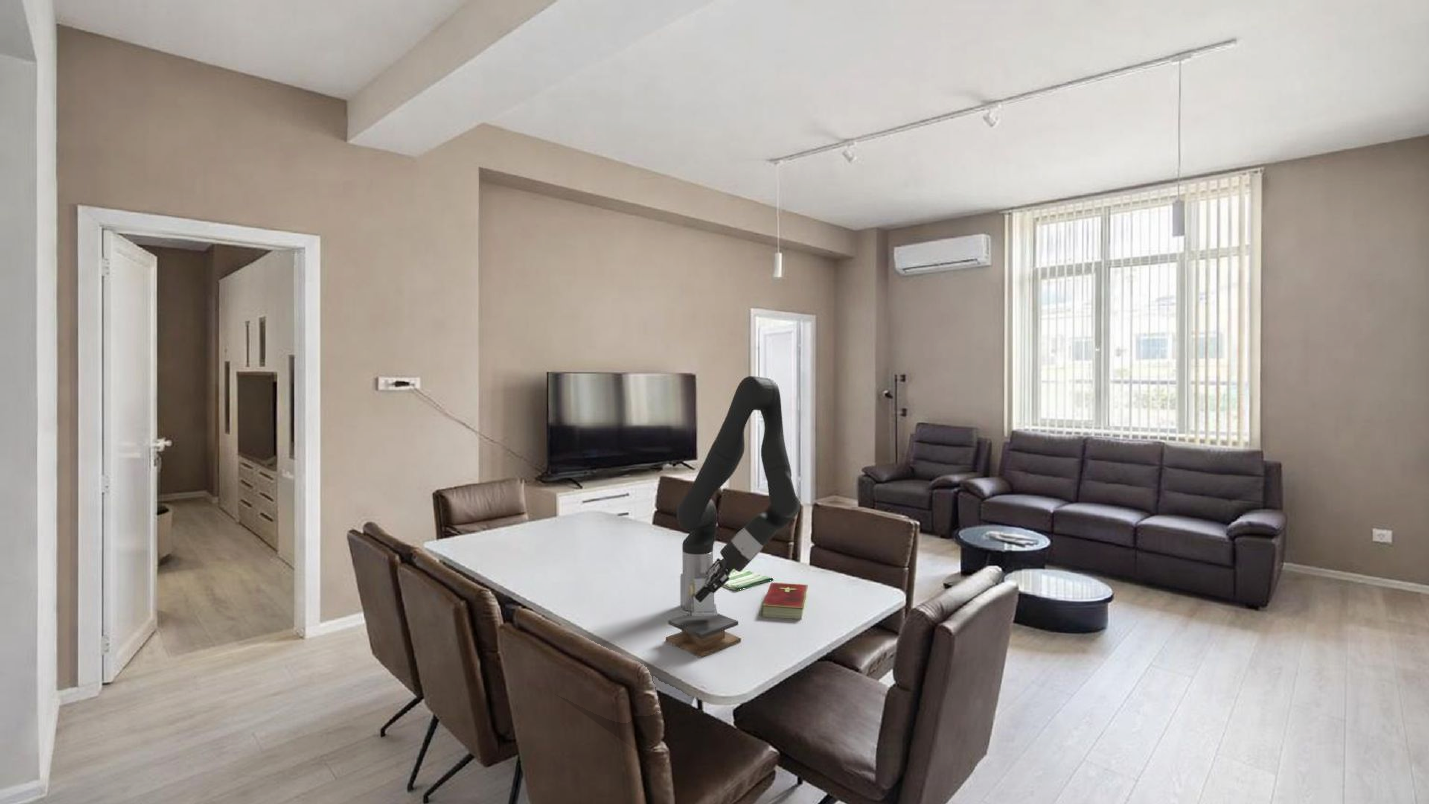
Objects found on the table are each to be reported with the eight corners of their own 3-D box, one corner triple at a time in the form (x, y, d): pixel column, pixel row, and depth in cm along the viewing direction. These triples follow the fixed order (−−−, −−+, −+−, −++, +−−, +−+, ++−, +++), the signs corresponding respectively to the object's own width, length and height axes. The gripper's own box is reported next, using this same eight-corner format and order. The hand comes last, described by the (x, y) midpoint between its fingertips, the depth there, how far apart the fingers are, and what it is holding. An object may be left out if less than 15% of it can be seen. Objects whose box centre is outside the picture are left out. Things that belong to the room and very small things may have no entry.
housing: (690, 607, 176) (689, 572, 176) (715, 606, 177) (714, 571, 176) (691, 616, 170) (690, 580, 169) (717, 615, 170) (716, 579, 170)
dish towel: (736, 593, 213) (736, 585, 213) (689, 577, 230) (689, 569, 230) (773, 582, 225) (773, 574, 225) (726, 567, 242) (726, 559, 242)
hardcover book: (761, 618, 191) (761, 604, 191) (770, 594, 212) (770, 581, 212) (802, 621, 189) (803, 607, 189) (807, 597, 210) (807, 583, 209)
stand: (665, 640, 174) (665, 620, 174) (704, 626, 184) (704, 607, 183) (701, 657, 164) (701, 635, 164) (740, 641, 173) (740, 621, 173)
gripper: (729, 533, 180) (685, 578, 180) (734, 546, 166) (687, 595, 165) (748, 551, 181) (705, 596, 180) (755, 566, 166) (708, 615, 166)
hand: (696, 595), depth 173 cm, fingers closed on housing, 5 cm apart
